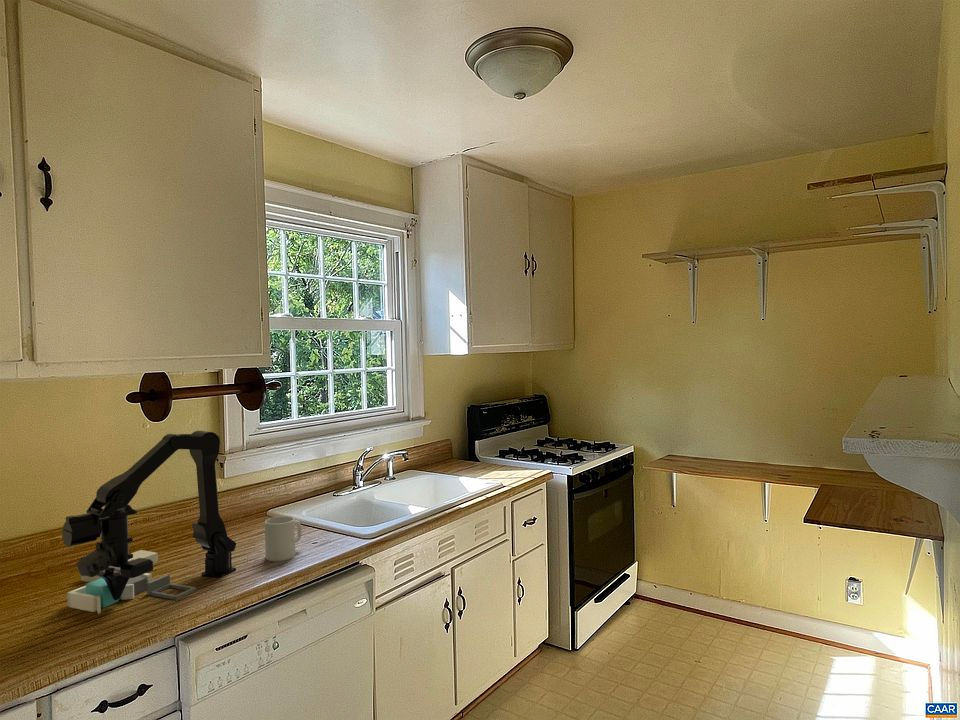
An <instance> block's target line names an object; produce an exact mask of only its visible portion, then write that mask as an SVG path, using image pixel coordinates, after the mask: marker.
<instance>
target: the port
mask: <svg viewBox="0 0 960 720" xmlns="http://www.w3.org/2000/svg"><path fill="white" fill-rule="evenodd" d="M152 577H153V576H152V573H150V572H147V573H145V574H142V575H140V576H137V577H135V578H129V580H128V582H127V584H126V586H125V588H124V590H123V593H122V595H121V597H120V599H119V600H121V601H123V600H124V601H125V600H134V599H135V595H137V594H139V593H141V592H144V591H147V584H146V583H148V582H150V581H152V580H153V579H152ZM66 596H67V607H68V608H71V609H76V610H82V611H85V612H92V613H96V612H97V614H98V615H99V614H102V607H101V602H100V596H99V595H98V596H95V595H90V594H86V585H84V586H81V587H79V588H76V589H73V590H70V591H68V592H67V595H66Z"/></svg>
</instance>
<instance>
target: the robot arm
mask: <svg viewBox="0 0 960 720" xmlns="http://www.w3.org/2000/svg"><path fill="white" fill-rule="evenodd" d="M220 449H221V437H220V436H219V435H218V434H217V433H215V432H212V431H206V430H196V431H193V432H192V433H179V434H178V433H177V434H176V433H167V434H165V435H164V436H163V437H162V439H161V440H160V441H159V442H158V443H156V444H155V445H154V446H153V447H151V449H150V450H148V452H146V454H144V455H143V456H142V457H140V459H139V460H137V461H136V462H135V463H134V464H133V465H132V466H131V467H130V468H128V469H127V470H126V471H124V472H123V473H121V474H119V475H117V476H115V477H113V478H111V479H110V480H108V481H106V482H104V483H103V484H102V485H101V486H100V487H99V488H98V489H97V491H96V493H95V494H96V496H95V498H94V499H93V501H92V502H91V504H90V505H89V506H88V508H87V510H86V511H85V512H86V513H82V514H77V515H68V516H66V517H65V522H64V524H63V526H62V529H61V536H62V541H63V543H64V545H65V546H66V548H70V547H73V546H74V547H75V546H78V545H83V544H87V543H90V542H94V541H96V544H95V550H94V551H92V552H89V553H88V554H86V555H84V556H82V557H81V558H80V559H79V561H77V562H76V563H75V565H76V567H77V569H78V572H79V574H80V577H81V576H89V577H94V576H96V575H97V576H100V577H101V578H103V579H104V580H105V582H106V583H107V586H108V588H109V590H110V592H111V595H112V597H113V599H114V600H118V599H119V600H121V599H120V597H121V595H122V593H123V590H124V588H125V586H126V584H127V582H128V580H129V578H135V577H137V576H140V575H142V574H145V573H150V572H152V571H153V570H154V564H153V561H151V560H150V559H145V558H138V559H135V560H132V561H128V560H129V559H131V558H133V554H131V553H130V551H129V549H130V547H129V543H132V542H133V536H129V519H128V518H129V517H128V516H131V515H136V514H137V513H138V510H136V509H135V508H133V507H132V506H131V505H130V503H131V501H132V500H133V499H134V497H135V496H136V495H137V493H138V490H139V488H140V487H141V485H142V484H143V483H144V482H145V481H146V479H148V478H149V477H150V476H151V475H152V474H154V472H155V471H156V470H158V469H159V468H160V467H161V466H162V465H163V464H164V463H165V462H166V461H167V460H168V459H170V457H172V456H173V455H174V454H175V453H176V452H177V451H179V450H189V454H190V457H191V458H192V460H193V462H194V464H195V467H196V482H197V483H196V484H197V493H198V494H197V495H198V506H199V508H198V509H199V518H198V520H197V522H193V523H192V526H191V527H192V530H193V532H192V533H193V535H192V538H193V539H194V540H195V542H196V543H197V544H198V545H199V546H200V547H201V549H202V550H203V551H206V552H205V558H204V570H205V571H203V572H201V575H202V576H208V577H214V578H221V577H223V576H225V575H227V574H229V573H232V572H234V571H236V570H237V567H234V566H232V560H233V559H232V552H235V550H236V547H237V546H236V545H237V542H236V541H234V540H233V539H231V538H230V537H229V536H228V531H227V529H226V525H225V522H224V521H223V519H222V517H221V514H220V511H219V509H220V508H219V498H218V497H219V496H218V484H217V472H216V470H217V469H216V462H217V459H218V457H219V455H220V451H221V450H220ZM98 538H100V540H99V541H97V539H98Z"/></svg>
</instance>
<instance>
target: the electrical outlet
mask: <svg viewBox="0 0 960 720" xmlns="http://www.w3.org/2000/svg"><path fill="white" fill-rule="evenodd" d="M130 554H133V558H131V559H129V560H128V561H132V560H135V559H138V558H145V559H150V560H151V561H153V565H154V564H158V563H159V553H158V552H154V551H149V550H143V549H140V550H136V551H134V552H131V553H130ZM80 578H81V579H80V581H81V582H84V583H90V582H93V581H95V580H98V579H103V578H101V577H100V576H97V575H96V576H94V577H89V576H81V575H80Z"/></svg>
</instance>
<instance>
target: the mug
mask: <svg viewBox="0 0 960 720" xmlns="http://www.w3.org/2000/svg"><path fill="white" fill-rule="evenodd" d="M295 527H296V528H297V534H296V531H295V530H296V528H295ZM302 534H303V531H302V524H301V522H300V521H299V520H297V519H296V520H295V518H294V517H293V516H287V515H285V516H284V515H282V516H281V515H279V516H274V517H270V518H268V519H265V521H264V540H265V542H264V543H265V544H264V545H265V548H264V549H265V550H264V551H265V553H264V555H265V556H264V557H265V559H266V560H267V561H270V562H283V561H288V560H290V559H293V558H294V557H295V556H296V543H299V541H300V540H302V539H301V538H302Z"/></svg>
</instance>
